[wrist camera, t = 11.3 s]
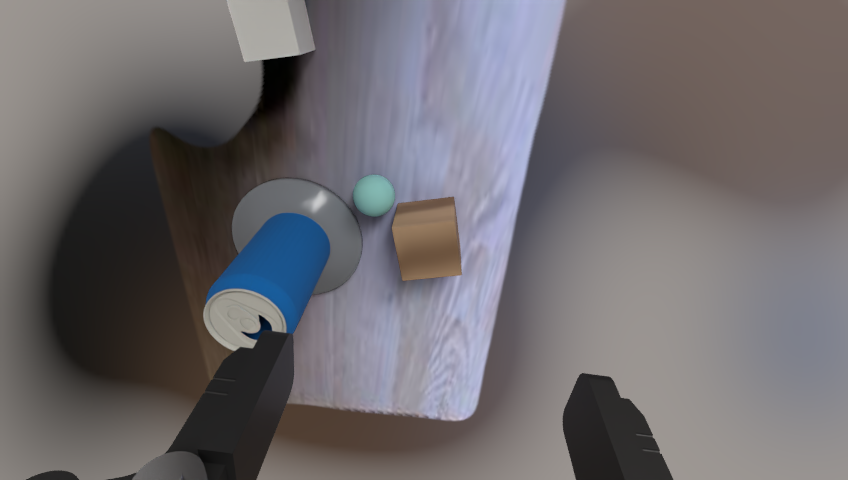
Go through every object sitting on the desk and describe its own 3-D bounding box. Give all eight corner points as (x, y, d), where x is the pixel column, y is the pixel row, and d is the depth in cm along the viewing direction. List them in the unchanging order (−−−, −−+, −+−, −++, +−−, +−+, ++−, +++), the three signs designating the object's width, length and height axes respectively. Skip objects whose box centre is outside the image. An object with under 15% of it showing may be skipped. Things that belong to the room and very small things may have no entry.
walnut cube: (398, 203, 39) (391, 228, 34) (453, 196, 38) (454, 221, 34) (407, 251, 41) (402, 280, 37) (460, 245, 41) (461, 275, 36)
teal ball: (357, 166, 37) (349, 181, 34) (398, 171, 37) (394, 186, 34) (356, 203, 39) (348, 220, 36) (395, 208, 39) (390, 226, 36)
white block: (241, -35, 31) (214, -41, 27) (295, -44, 30) (275, -50, 27) (265, 56, 34) (244, 62, 30) (316, 49, 33) (300, 54, 30)
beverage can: (304, 281, 42) (257, 373, 32) (249, 239, 40) (179, 322, 30) (346, 241, 40) (310, 325, 29) (290, 194, 38) (230, 267, 28)
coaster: (228, 169, 38) (225, 172, 37) (365, 186, 38) (364, 189, 38) (240, 283, 44) (238, 286, 43) (359, 297, 44) (358, 301, 43)
